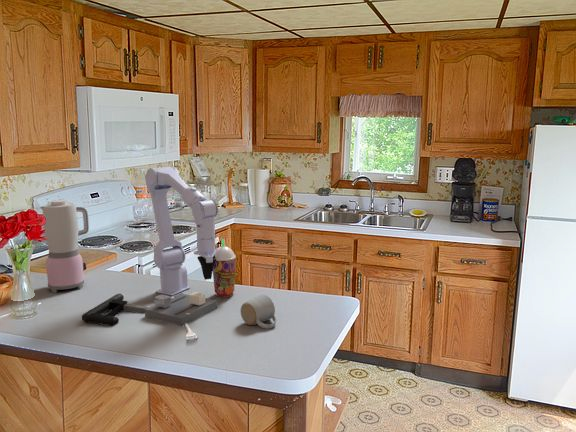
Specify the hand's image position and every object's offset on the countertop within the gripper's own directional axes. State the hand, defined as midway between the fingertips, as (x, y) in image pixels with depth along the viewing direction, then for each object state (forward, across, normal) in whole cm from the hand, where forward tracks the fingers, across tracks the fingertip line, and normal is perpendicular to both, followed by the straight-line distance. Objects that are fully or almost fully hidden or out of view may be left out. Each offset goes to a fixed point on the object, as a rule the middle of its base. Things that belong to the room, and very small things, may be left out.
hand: (207, 278), depth 168 cm
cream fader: (+6, +4, -4) cm, 9 cm away
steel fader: (+6, +3, -15) cm, 16 cm away
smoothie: (+10, -10, +7) cm, 15 cm away
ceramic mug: (+10, +19, +13) cm, 25 cm away
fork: (+10, +17, -8) cm, 21 cm away
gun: (+10, -2, -28) cm, 30 cm away
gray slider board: (+9, +3, -9) cm, 13 cm away
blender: (+10, -35, -46) cm, 59 cm away
